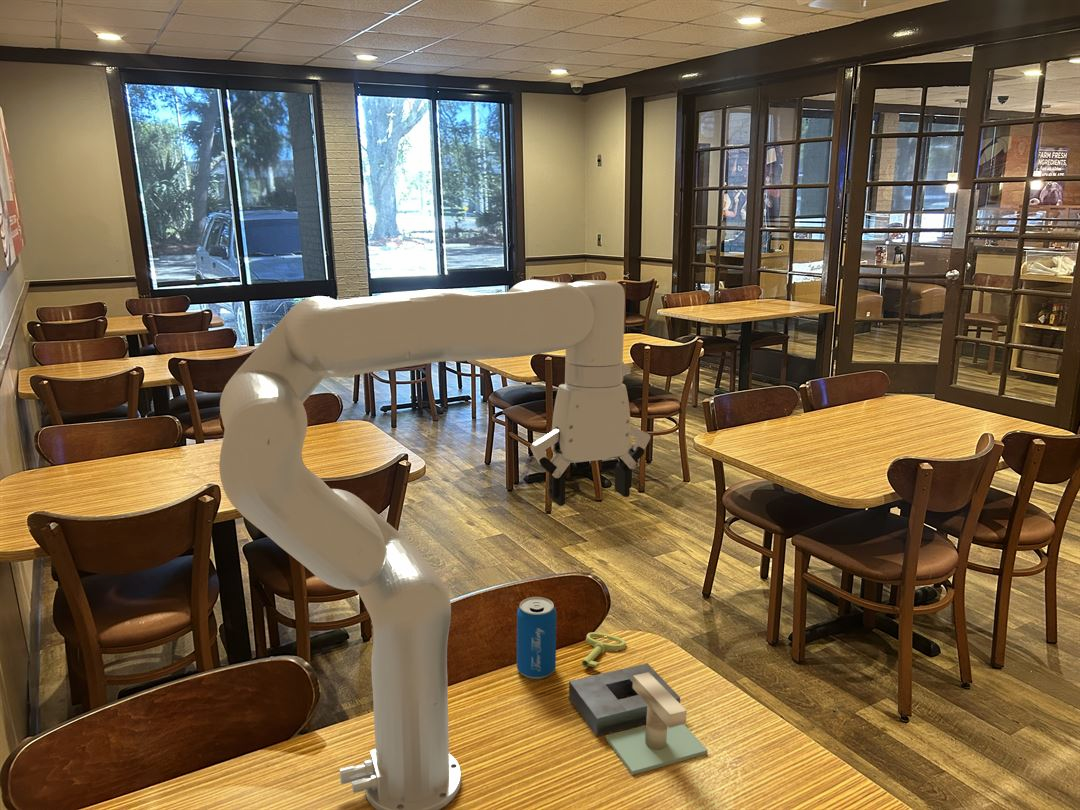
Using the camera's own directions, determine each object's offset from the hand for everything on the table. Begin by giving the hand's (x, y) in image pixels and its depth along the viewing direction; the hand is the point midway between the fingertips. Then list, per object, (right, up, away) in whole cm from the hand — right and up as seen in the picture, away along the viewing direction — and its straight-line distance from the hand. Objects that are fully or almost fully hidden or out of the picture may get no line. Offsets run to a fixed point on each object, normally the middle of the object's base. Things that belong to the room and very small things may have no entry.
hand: (590, 498), depth 105 cm
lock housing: (+6, -34, +14) cm, 37 cm away
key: (+4, -31, +29) cm, 43 cm away
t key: (+10, -36, +5) cm, 37 cm away
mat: (+10, -36, +5) cm, 38 cm away
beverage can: (-8, -32, +23) cm, 40 cm away
